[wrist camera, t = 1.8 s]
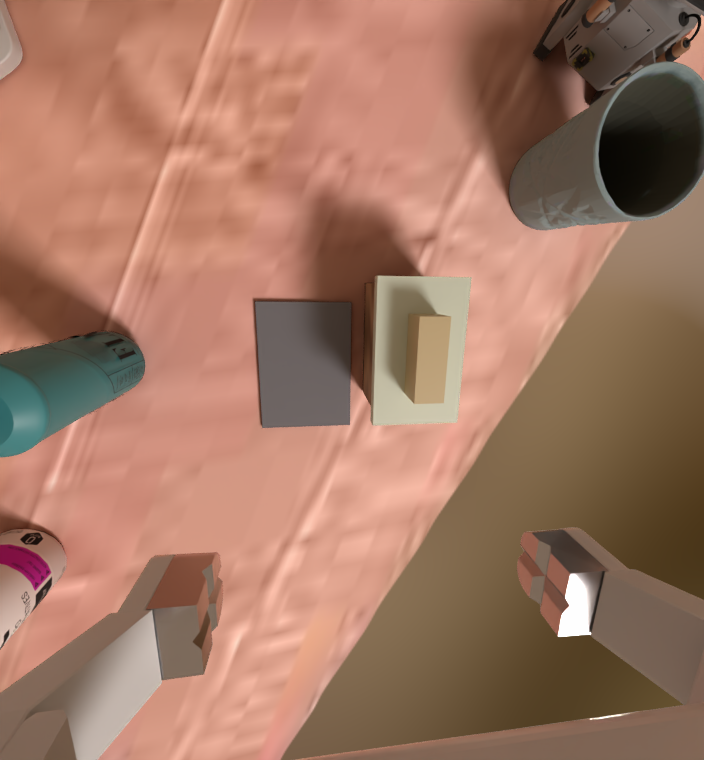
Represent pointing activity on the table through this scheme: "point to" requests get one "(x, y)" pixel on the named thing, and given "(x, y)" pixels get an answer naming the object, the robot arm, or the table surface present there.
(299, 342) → the mat
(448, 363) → the lid
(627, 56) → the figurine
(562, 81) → the table surface
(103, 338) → the beverage bottle
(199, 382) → the table surface
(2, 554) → the supplement can
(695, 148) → the gray embossed pot
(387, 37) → the table surface
